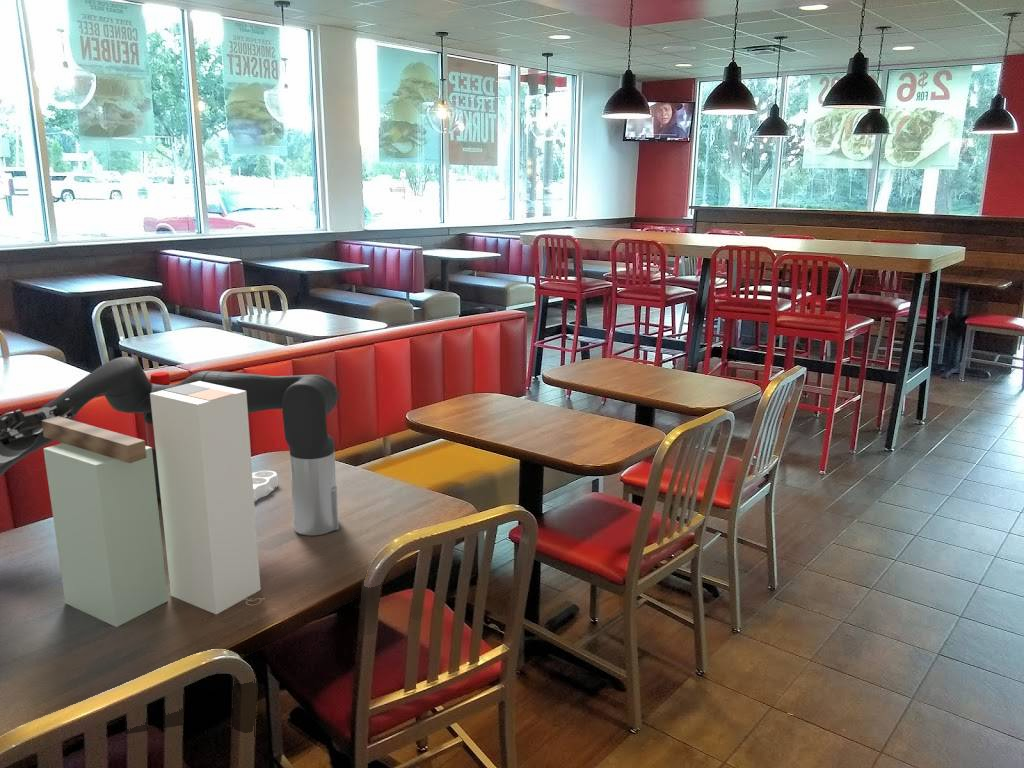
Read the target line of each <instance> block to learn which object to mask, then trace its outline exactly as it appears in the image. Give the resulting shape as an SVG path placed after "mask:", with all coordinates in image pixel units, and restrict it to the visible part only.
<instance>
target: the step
mask: <svg viewBox="0 0 1024 768" xmlns="http://www.w3.org/2000/svg"><path fill="white" fill-rule="evenodd" d="M42 448H43V447H42ZM145 448H146V457H147V458H145V459H142V460H139V461H136V462H133V463H127V462H124V461H121V460H117V459H114V458H111V457H108V456H104V455H101V454H98V453H95V452H91V451H88V450H85V449H82V448H78V447H75V446H72V445H69V444H65V443H62V442H60V443H58V444H55V445H51V446H47V447H44V448H43V450H42V451H43V454H44V463H45V469H46V478H47V483H48V491H49V498H50V503H51V513H52V519H53V526H54V533H55V539H56V546H57V547H56V548H57V555H58V560H59V568H60V575H61V581H62V582H61V583H62V588H63V594H64V601H65V602H64V604H66V605H69V606H71V607H72V608H75V609H77V610H79V611H81V612H83V613H85V614H88V615H90V616H92V617H94V618H96V619H97V620H100V621H102V622H104V623H107V624H109V625H111V626H113V627H115V628H118V627H119V626H122V625H124V624H126V623H127V622H129V621H131V620H134V619H136V618H137V617H139V616H141V615H143V614H145V613H148V612H150V611H151V610H153V609H155V608H156V607H159V606H161V605H163V604H165V603H166V602H168V601H169V599H168V589H167V580H166V579H167V578H166V572H165V561H164V559H165V558H164V553H163V551H164V550H163V541H162V533H161V532H162V531H161V523H160V513H159V506H158V505H159V504H158V499H157V493H156V484H155V474H154V465H153V455H152V447H148V446H147V445H145Z"/></svg>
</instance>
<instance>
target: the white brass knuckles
mask: <svg viewBox="0 0 1024 768" xmlns="http://www.w3.org/2000/svg"><path fill="white" fill-rule="evenodd" d="M252 477H253V491H254V502H257V500H258V499H261V498H263V497H266V496H268V495H269V494H270V493H271V492H272V491H275V487H276V488H277V486H278V487H279V482H278V481H279V480H278V472H276V471H273V470H259V471H257V472H256V471H255V472H252Z"/></svg>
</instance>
